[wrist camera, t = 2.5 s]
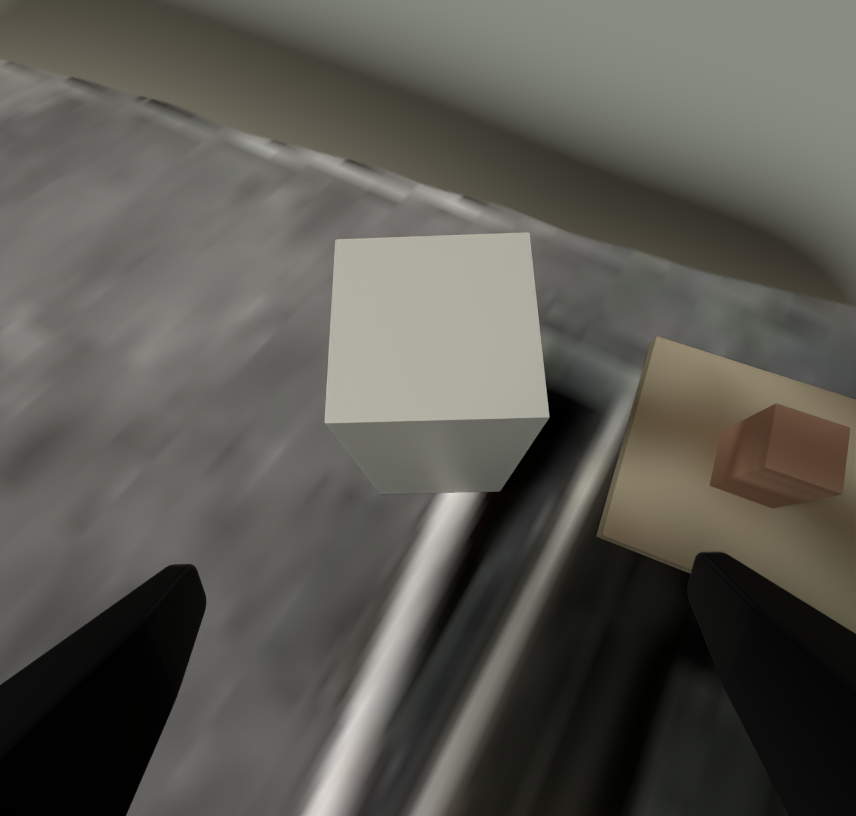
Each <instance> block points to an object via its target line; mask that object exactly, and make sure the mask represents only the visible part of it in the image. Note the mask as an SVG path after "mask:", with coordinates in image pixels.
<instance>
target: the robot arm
mask: <svg viewBox="0 0 856 816" xmlns="http://www.w3.org/2000/svg"><path fill="white" fill-rule="evenodd" d="M687 592H688V597H689V601H690V603H691V606H692V608H693V611H694V613H695V616H696V619H697V621H698V624H699V626H700V629H701V631H702V634H703V636H704V639H705V641H706V644H707V646H708V649H709V652H710V654H711V657H712V659H713V662H714V664H715V667H716V669H717V672H718V674H719V676H720V679H721V681H722V684H723V686H724V688H725V690H726V692H727V694H728V696H729V698H730V700H731V702H732V704H733V706H734V708H735V710H736V712H737V714H738V716H739V718H740V720H741V722H742V724H743V726H744V728H745V730H746V732H747V734H748V736H749V738H750V740H751V742H752V744H753V746H754V747H755V749H756V751H757V753H758V755H759V757H760V759H761V761H762V763H763V765H764V767H765V769H766V771H767V773H768V775H769V777H770V779H771V781H772V783H773V785H774V787H775V789H776V791H777V792H778V794H779V796H780V798H781V800H782V802H783V804H784V806H785V808H786V810H787V812H788V814H789V816H856V633H854V632H852V631H851V630H849V629H848V628H846V627H844V626H843V625H841V624H839V623H838V622H836V621H835V620H833V619H831V618H830V617H828V616H827V615H825V614H823V613H822V612H820V611H819V610H817V609H815V608H814V607H812V606H810V605H809V604H807V603H806V602H804V601H802V600H801V599H799V598H798V597H796V596H794V595H793V594H791V593H789V592H788V591H786V590H785V589H783V588H781V587H780V586H778V585H777V584H775V583H773V582H772V581H770V580H768V579H767V578H765V577H764V576H762V575H760V574H759V573H757V572H756V571H754V570H752V569H751V568H749V567H748V566H746V565H744V564H743V563H741V562H739V561H738V560H736V559H735V558H733V557H731V556H730V555H728V554H726V553H724V552H719V551H718V552H700V553H698V554H697V555H696V557H695V560H694V563H693V567H692V571H691V574H690V578H689V582H688V586H687ZM205 609H206V595H205V592H204V589H203V586H202V583H201V580H200V577H199V574H198V571H197V569H196V567H195V566H194V565H191V564H174V565H170V566H168V567H166V568H164V569H163V570H162V571H160V572H159V573H157V574H156V575H155V576H153V577H152V578H150V579H149V580H147V581H146V582H145V583H143V584H142V585H140V586H139V587H138V588H136V589H135V590H133V591H132V592H131V593H129V594H128V595H126V596H125V597H124V598H122V599H121V600H119V601H118V602H116V603H115V604H114V605H112V606H111V607H109V608H108V609H107V610H105V611H104V612H102V613H101V614H100V615H98V616H97V617H95V618H94V619H93V620H91V621H90V622H88V623H87V624H86V625H84V626H83V627H81V628H80V629H78V630H77V631H76V632H74V633H73V634H71V635H70V636H69V637H67V638H66V639H64V640H63V641H62V642H60V643H59V644H57V645H56V646H55V647H53V648H52V649H50V650H49V651H48V652H46V653H45V654H43V655H42V656H40V657H39V658H38V659H36V660H35V661H33V662H32V663H31V664H29V665H28V666H26V667H25V668H24V669H22V670H21V671H19V672H18V673H17V674H15V675H14V676H12V677H11V678H9V679H8V680H7V681H5V682H4V683H2V684H1V685H0V816H126V815H127V812H128V810H129V808H130V805H131V803H132V801H133V798H134V796H135V794H136V791H137V789H138V787H139V784H140V782H141V780H142V777H143V775H144V773H145V770H146V768H147V766H148V764H149V761H150V759H151V757H152V754H153V752H154V750H155V747H156V745H157V743H158V740H159V738H160V736H161V733H162V731H163V729H164V726H165V724H166V722H167V719H168V717H169V715H170V712H171V710H172V708H173V705H174V703H175V700H176V698H177V695H178V692H179V690H180V687H181V684H182V681H183V678H184V675H185V672H186V668H187V665H188V662H189V659H190V656H191V653H192V650H193V647H194V644H195V640H196V637H197V634H198V631H199V628H200V625H201V622H202V619H203V615H204V612H205Z"/></svg>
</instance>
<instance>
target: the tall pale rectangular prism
mask: <svg viewBox="0 0 856 816" xmlns="http://www.w3.org/2000/svg"><path fill="white" fill-rule="evenodd" d="M548 419H549V409H548V399H547V390H546V381H545V372H544V363H543V354H542V345H541V336H540V326H539V317H538V308H537V299H536V290H535V281H534V272H533V263H532V253H531V244H530V235H529V233H502V234H474V235H447V236H420V237H392V238H365V239H337V240H335V256H334V273H333V290H332V307H331V323H330V340H329V357H328V374H327V391H326V408H325V425H326V426H327V427H328V428H329V430H330V431H331V432H332V433H333V435H334V436H335V437H336V438H337V440H338V441H339V442H340V443H341V445H342V446H343V447H344V448H345V450H346V451H347V452H348V454H349V455H350V456H351V457H352V459H353V460H354V461H355V462H356V464H357V465H358V466H359V467H360V469H361V470H362V471H363V472H364V474H365V475H366V476H367V478H368V479H369V480H370V481H371V483H372V484H373V485H374V486H375V488H376V489H377V490H378V491H379V493H380V494H410V493H454V492H498V491H501V489H502V488H503V486H504V485H505V483H506V482H507V480H508V479H509V477H510V476H511V474H512V473H513V471H514V470H515V468H516V467H517V465H518V464H519V462H520V461H521V459H522V458H523V456H524V455H525V453H526V452H527V450H528V449H529V447H530V446H531V444H532V443H533V441H534V440H535V438H536V437H537V435H538V434H539V432H540V431H541V429H542V428H543V426H544V425H545V423H546V422H547V420H548Z"/></svg>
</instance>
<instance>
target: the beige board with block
mask: <svg viewBox="0 0 856 816" xmlns="http://www.w3.org/2000/svg"><path fill="white" fill-rule="evenodd" d="M596 537H599V538H601V539H604V540H606V541H609V542H611V543H614V544H616V545H619V546H622V547H624V548H627V549H629V550H632V551H634V552H637V553H639V554H642V555H644V556H647V557H650V558H652V559H655V560H657V561H660V562H662V563H665V564H667V565H670V566H673V567H675V568H678V569H680V570H683V571H685V572H688V573H690V574H691V571H692V567H693V563H694V560H695V557H696V555H697V554H698V553H700V552H718V551H719V552H724V553H726V554H728V555H730V556H731V557H733V558H735V559H736V560H738V561H739V562H741V563H743V564H744V565H746V566H748V567H749V568H751V569H752V570H754V571H756V572H757V573H759V574H760V575H762V576H764V577H765V578H767V579H768V580H770V581H772V582H773V583H775V584H777V585H778V586H780V587H781V588H783V589H785V590H786V591H788V592H789V593H791V594H793V595H794V596H796V597H798V598H799V599H801V600H802V601H804V602H806V603H807V604H809V605H810V606H812V607H814V608H815V609H817V610H819V611H820V612H822V613H823V614H825V615H827V616H828V617H830V618H831V619H833V620H835V621H836V622H838V623H839V624H841V625H843V626H844V627H846V628H848V629H849V630H851V631H852V632H854V633H856V400H855V399H852V398H849V397H846V396H843V395H840V394H836V393H833V392H830V391H827V390H824V389H821V388H818V387H814V386H811V385H808V384H805V383H802V382H799V381H796V380H793V379H789V378H786V377H783V376H780V375H777V374H774V373H771V372H767V371H764V370H761V369H758V368H755V367H752V366H749V365H745V364H742V363H739V362H736V361H733V360H730V359H727V358H724V357H720V356H717V355H714V354H711V353H708V352H705V351H702V350H698V349H695V348H692V347H689V346H686V345H683V344H680V343H676V342H673V341H670V340H667V339H664V338H661V337H658V336H657V337H656V338H655V339H654V340H653V341H652V342H651V343H650V346H649V349H648V353H647V356H646V360H645V364H644V367H643V371H642V374H641V378H640V382H639V385H638V389H637V392H636V396H635V400H634V403H633V407H632V410H631V414H630V417H629V421H628V425H627V428H626V432H625V435H624V439H623V443H622V446H621V450H620V453H619V457H618V460H617V464H616V468H615V471H614V475H613V478H612V482H611V486H610V489H609V493H608V496H607V500H606V504H605V507H604V511H603V514H602V518H601V521H600V525H599V529H598V532H597V536H596Z"/></svg>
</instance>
